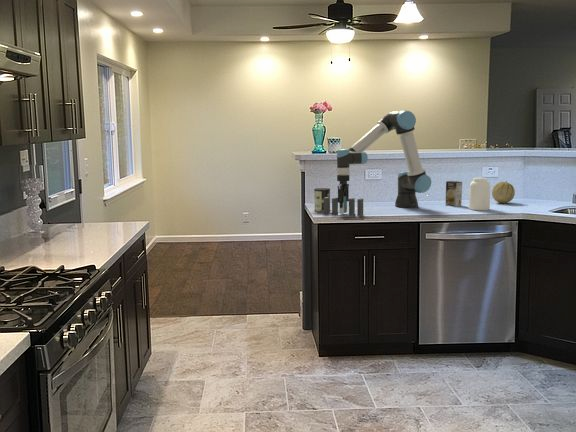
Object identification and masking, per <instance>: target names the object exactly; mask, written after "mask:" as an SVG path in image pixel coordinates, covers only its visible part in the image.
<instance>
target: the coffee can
mask: <svg viewBox="0 0 576 432" xmlns="http://www.w3.org/2000/svg"><path fill="white" fill-rule="evenodd" d="M313 190H314V191H313V192H314V196H313V197H314V211H315V212H323V213H324V198H325V197H330V198H331V188H329V187H328V188H327V187H321V188H320V187H318V188H314V189H313Z"/></svg>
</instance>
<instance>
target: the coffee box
mask: <svg viewBox="0 0 576 432" xmlns="http://www.w3.org/2000/svg"><path fill="white" fill-rule="evenodd" d="M462 198H463V181H460V180H458V181H457V180H446V181H445V206H451V207H459V206H462Z"/></svg>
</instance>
